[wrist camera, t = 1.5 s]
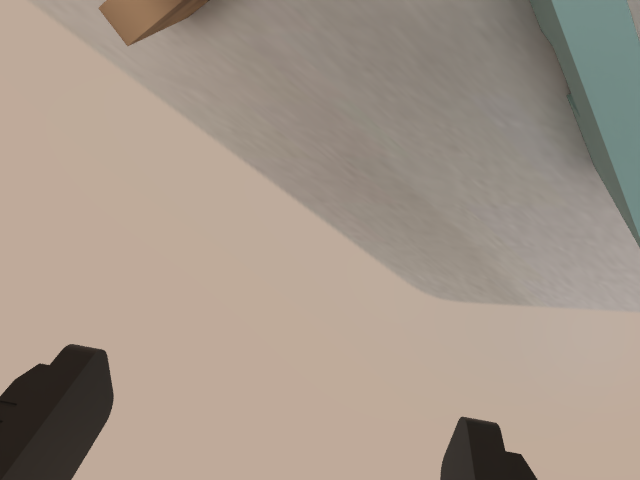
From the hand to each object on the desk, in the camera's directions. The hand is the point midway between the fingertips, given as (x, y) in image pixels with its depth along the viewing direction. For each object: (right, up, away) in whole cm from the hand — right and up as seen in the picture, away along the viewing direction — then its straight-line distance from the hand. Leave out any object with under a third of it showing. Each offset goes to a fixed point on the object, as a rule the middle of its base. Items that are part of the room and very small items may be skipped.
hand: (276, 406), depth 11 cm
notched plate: (+15, +14, +15) cm, 25 cm away
